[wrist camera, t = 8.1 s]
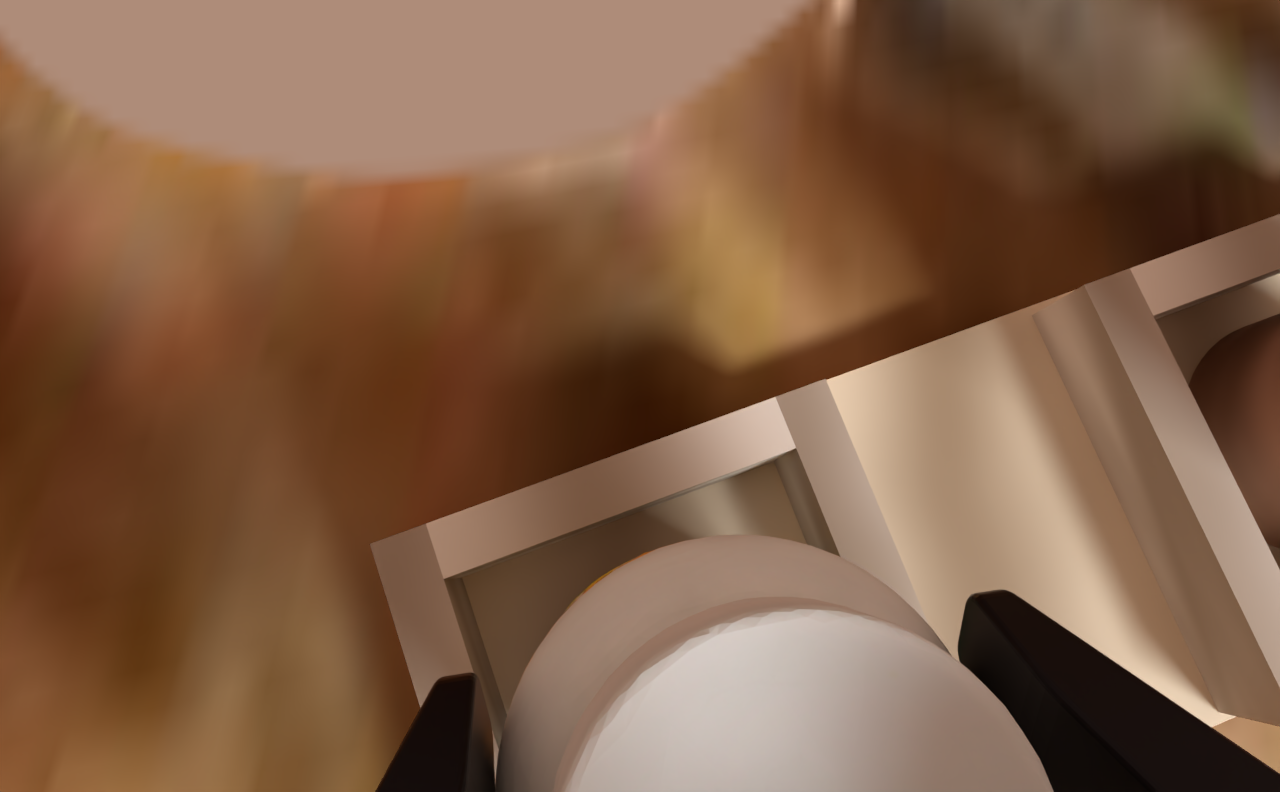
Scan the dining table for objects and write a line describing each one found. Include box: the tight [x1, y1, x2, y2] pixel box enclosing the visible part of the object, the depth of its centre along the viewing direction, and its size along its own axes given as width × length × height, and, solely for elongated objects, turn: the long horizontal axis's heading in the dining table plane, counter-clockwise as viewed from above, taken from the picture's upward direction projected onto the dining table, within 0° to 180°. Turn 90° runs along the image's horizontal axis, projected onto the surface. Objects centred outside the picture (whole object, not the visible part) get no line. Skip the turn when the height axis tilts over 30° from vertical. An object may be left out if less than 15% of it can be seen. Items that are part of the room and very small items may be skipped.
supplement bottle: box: [495, 535, 1054, 792], centre depth 11 cm, size 5×5×10 cm
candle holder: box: [370, 214, 1280, 778], centre depth 13 cm, size 24×9×11 cm, turn 110°
